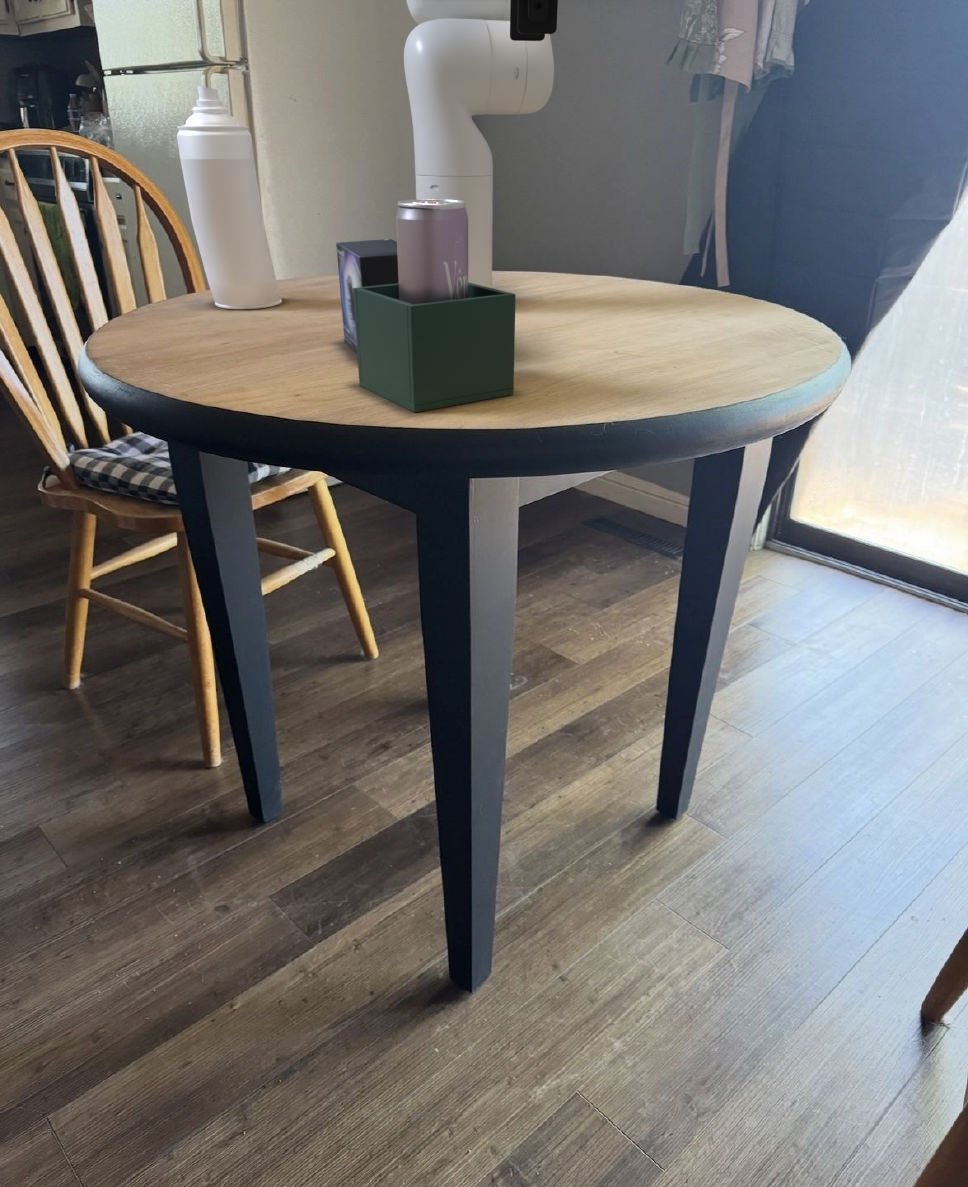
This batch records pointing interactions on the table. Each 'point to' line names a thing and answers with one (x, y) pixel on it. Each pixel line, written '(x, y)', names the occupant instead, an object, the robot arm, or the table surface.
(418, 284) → the beverage can
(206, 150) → the spray can
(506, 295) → the bin
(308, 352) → the table surface
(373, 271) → the small box
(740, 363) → the table surface
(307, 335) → the table surface
